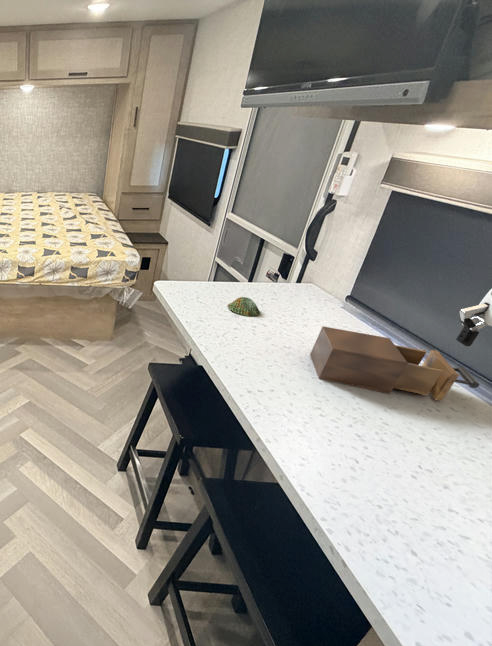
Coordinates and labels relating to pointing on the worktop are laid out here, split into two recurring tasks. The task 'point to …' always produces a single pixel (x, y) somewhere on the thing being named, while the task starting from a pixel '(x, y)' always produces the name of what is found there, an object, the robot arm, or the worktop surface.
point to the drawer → (430, 374)
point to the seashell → (244, 307)
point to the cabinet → (357, 359)
